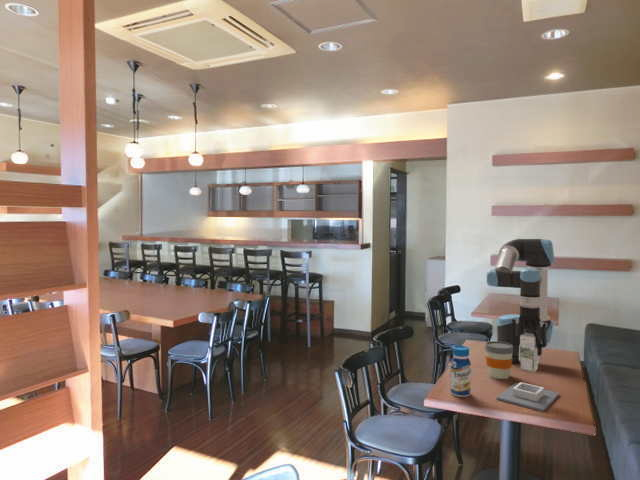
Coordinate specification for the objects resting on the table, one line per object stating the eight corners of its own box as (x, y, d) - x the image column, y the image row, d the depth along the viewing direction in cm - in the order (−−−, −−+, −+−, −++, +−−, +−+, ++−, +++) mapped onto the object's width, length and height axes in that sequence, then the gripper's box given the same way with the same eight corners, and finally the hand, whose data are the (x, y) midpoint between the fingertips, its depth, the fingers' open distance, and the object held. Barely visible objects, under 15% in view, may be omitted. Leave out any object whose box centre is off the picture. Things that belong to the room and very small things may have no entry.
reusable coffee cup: (479, 375, 215) (479, 344, 214) (493, 369, 223) (493, 339, 222) (504, 382, 205) (505, 350, 204) (517, 376, 213) (518, 345, 212)
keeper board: (515, 384, 202) (515, 376, 202) (559, 395, 190) (559, 385, 190) (496, 399, 186) (496, 390, 185) (543, 411, 174) (543, 401, 173)
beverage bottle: (466, 389, 196) (467, 344, 195) (473, 397, 188) (474, 350, 187) (447, 389, 196) (448, 344, 195) (453, 397, 188) (453, 350, 187)
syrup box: (538, 369, 187) (538, 334, 187) (533, 372, 183) (534, 337, 182) (523, 366, 191) (524, 332, 191) (519, 369, 187) (519, 335, 186)
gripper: (503, 304, 189) (502, 358, 190) (551, 310, 177) (550, 368, 178) (509, 302, 195) (509, 354, 196) (557, 307, 182) (555, 364, 183)
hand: (528, 361), depth 187 cm, fingers closed on syrup box, 6 cm apart
